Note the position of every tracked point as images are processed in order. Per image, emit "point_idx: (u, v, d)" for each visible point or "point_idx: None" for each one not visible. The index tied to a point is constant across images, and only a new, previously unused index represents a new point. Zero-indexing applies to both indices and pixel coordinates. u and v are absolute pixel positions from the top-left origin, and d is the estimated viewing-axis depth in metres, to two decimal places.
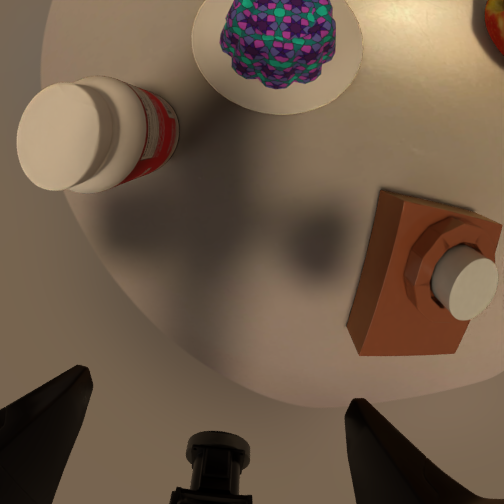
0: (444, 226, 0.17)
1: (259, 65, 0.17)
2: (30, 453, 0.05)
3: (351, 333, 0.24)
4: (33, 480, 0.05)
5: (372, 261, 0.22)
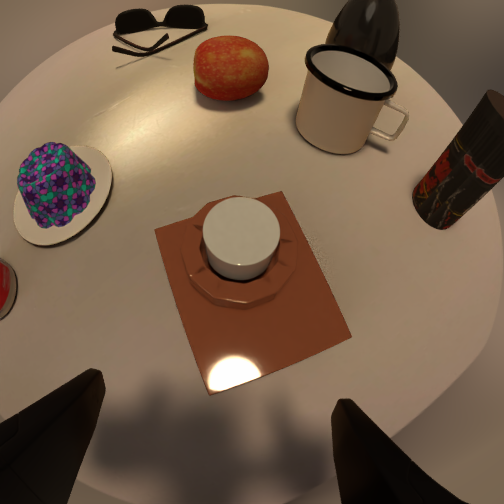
0: None
1: (42, 208, 0.23)
2: (45, 460, 0.05)
3: None
4: (47, 487, 0.05)
5: None
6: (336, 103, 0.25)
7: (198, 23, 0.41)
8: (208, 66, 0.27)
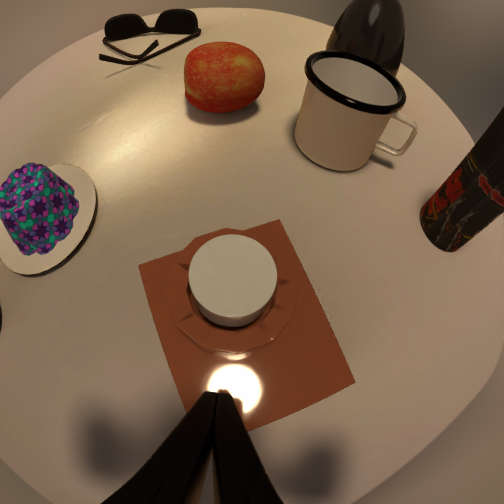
0: None
1: (23, 236, 0.21)
2: (190, 502, 0.05)
3: None
4: None
5: None
6: (339, 117, 0.23)
7: (191, 28, 0.39)
8: (199, 76, 0.25)
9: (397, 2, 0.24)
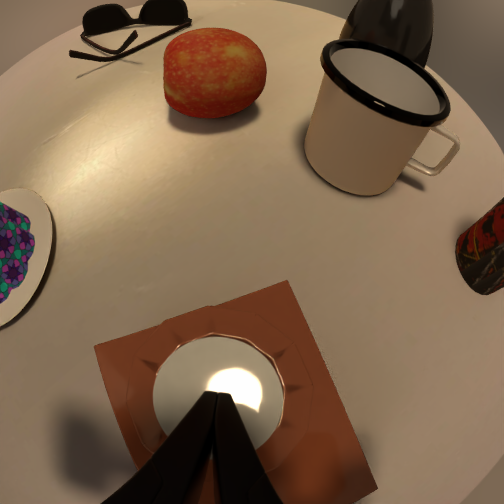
0: None
1: None
2: (190, 502, 0.05)
3: None
4: None
5: None
6: (368, 128, 0.17)
7: (180, 18, 0.32)
8: (179, 72, 0.19)
9: None
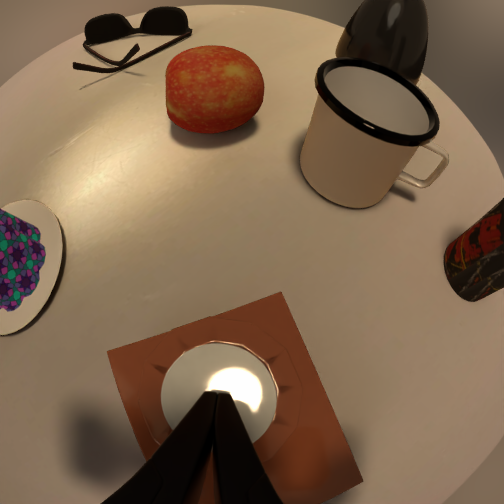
0: None
1: None
2: (190, 502, 0.05)
3: None
4: None
5: None
6: (358, 147, 0.19)
7: (180, 28, 0.34)
8: (181, 91, 0.20)
9: (421, 0, 0.19)
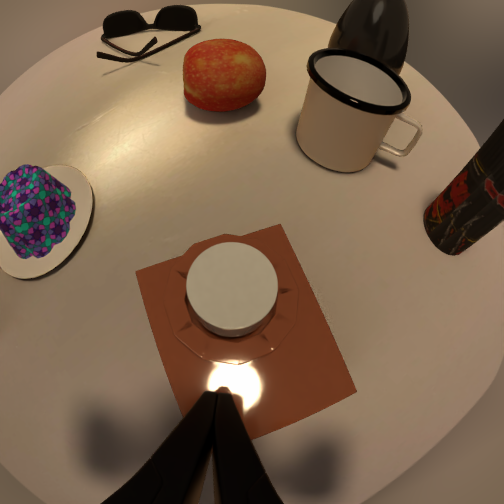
0: None
1: (19, 239, 0.20)
2: (190, 502, 0.05)
3: None
4: None
5: None
6: (342, 117, 0.23)
7: (190, 24, 0.38)
8: (198, 74, 0.25)
9: None
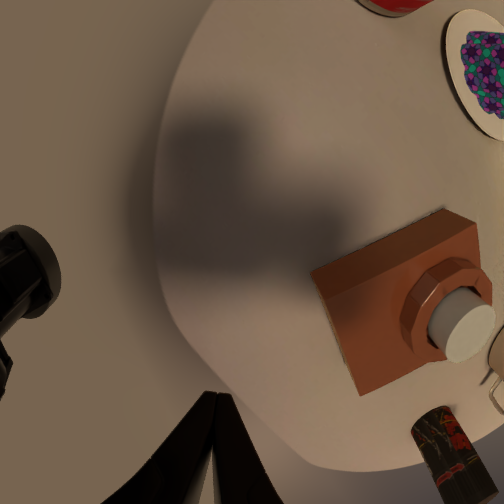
0: None
1: (486, 63, 0.14)
2: (190, 502, 0.05)
3: (318, 279, 0.21)
4: None
5: (401, 240, 0.20)
6: None
7: None
8: None
9: None
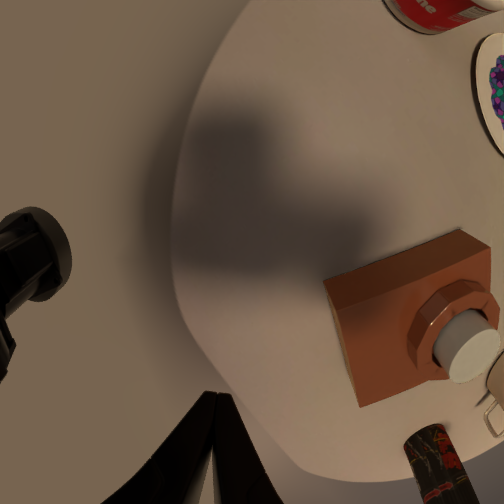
0: None
1: None
2: (190, 502, 0.05)
3: (331, 289, 0.21)
4: None
5: (415, 257, 0.20)
6: None
7: None
8: None
9: None
